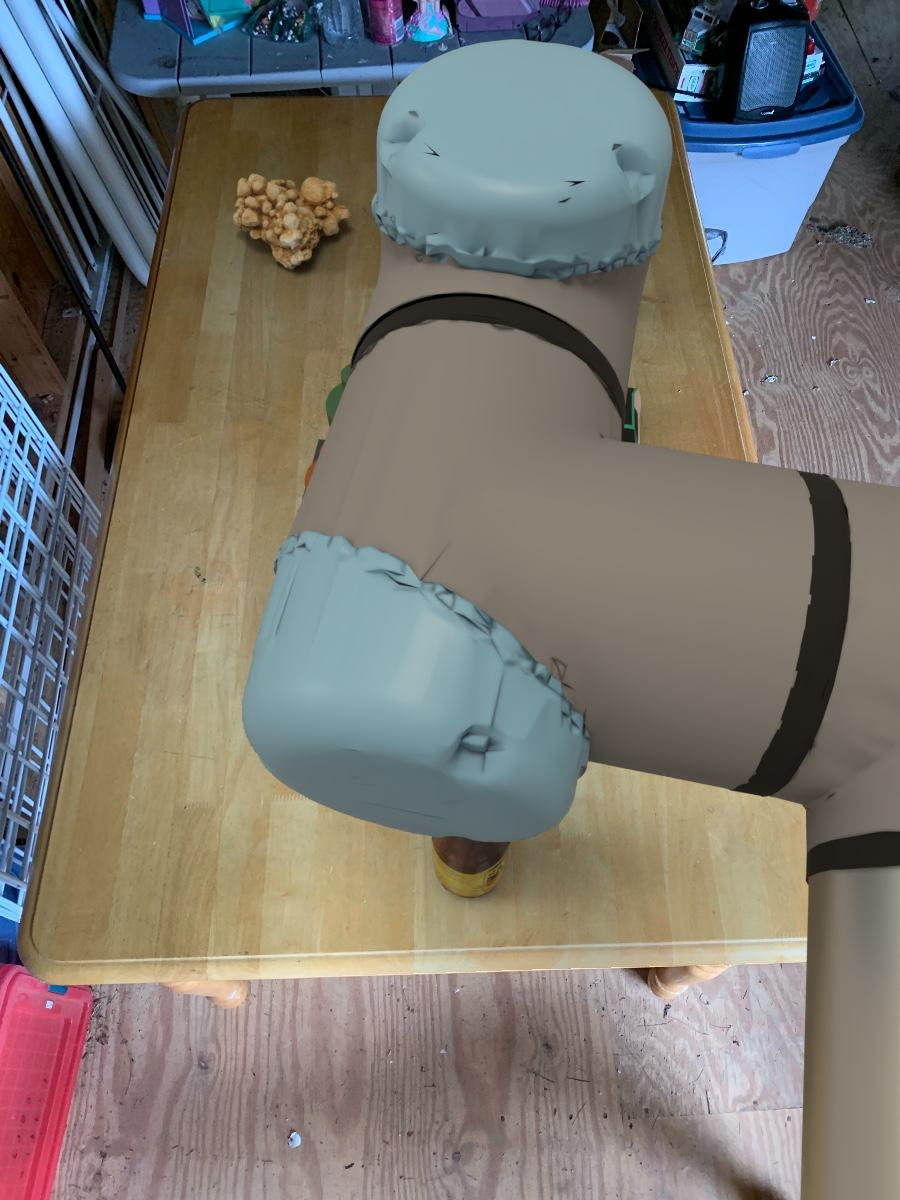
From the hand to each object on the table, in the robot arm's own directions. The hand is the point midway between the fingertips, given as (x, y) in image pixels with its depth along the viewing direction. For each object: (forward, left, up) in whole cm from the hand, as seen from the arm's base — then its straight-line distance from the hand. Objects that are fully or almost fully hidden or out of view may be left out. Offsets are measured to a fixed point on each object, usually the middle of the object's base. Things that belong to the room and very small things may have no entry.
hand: (478, 690), depth 52 cm
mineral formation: (+73, +34, -28) cm, 85 cm away
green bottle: (+33, +15, -27) cm, 45 cm away
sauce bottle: (-5, -1, -28) cm, 29 cm away
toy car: (+43, -11, -28) cm, 52 cm away
